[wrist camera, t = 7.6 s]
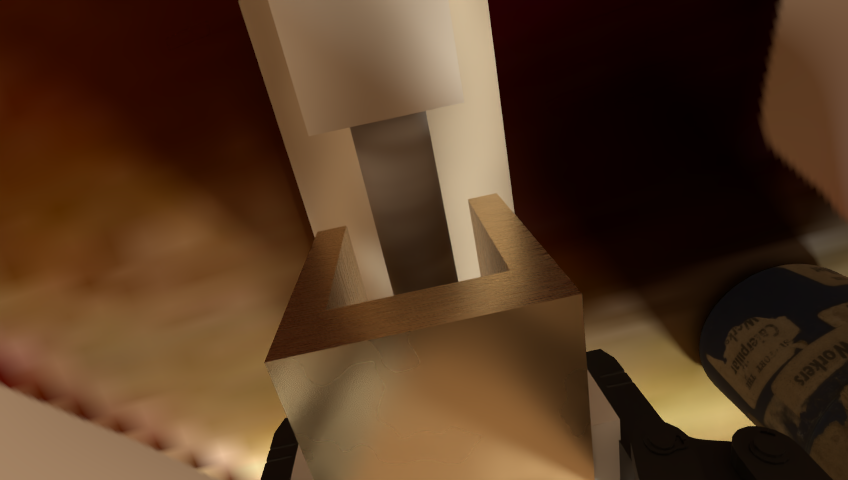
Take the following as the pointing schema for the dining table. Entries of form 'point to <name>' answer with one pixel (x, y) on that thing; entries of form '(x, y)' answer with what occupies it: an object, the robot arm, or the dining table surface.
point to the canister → (786, 357)
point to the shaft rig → (388, 127)
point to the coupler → (438, 366)
